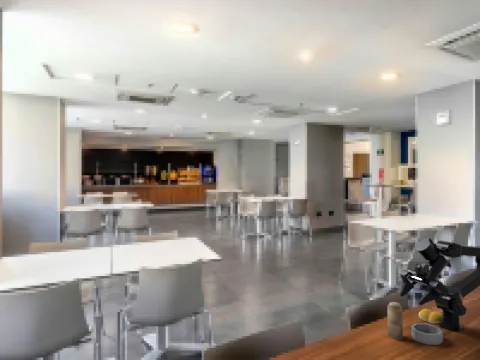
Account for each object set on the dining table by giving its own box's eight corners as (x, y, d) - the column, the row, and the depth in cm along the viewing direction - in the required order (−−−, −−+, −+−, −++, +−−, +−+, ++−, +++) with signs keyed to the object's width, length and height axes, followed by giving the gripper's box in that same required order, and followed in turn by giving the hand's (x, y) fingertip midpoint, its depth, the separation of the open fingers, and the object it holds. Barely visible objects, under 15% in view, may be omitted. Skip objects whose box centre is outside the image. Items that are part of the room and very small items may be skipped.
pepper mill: (396, 332, 124) (395, 300, 124) (406, 338, 119) (405, 305, 119) (385, 334, 123) (384, 302, 123) (394, 340, 118) (393, 306, 118)
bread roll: (440, 326, 129) (440, 316, 129) (416, 319, 136) (416, 309, 136) (447, 320, 135) (447, 310, 135) (424, 314, 142) (424, 304, 142)
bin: (419, 330, 126) (419, 321, 126) (446, 339, 118) (446, 329, 118) (407, 337, 120) (407, 328, 120) (435, 347, 112) (435, 337, 113)
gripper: (402, 249, 134) (379, 279, 131) (441, 259, 116) (416, 294, 113) (418, 267, 136) (397, 297, 133) (459, 279, 118) (435, 314, 115)
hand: (409, 300), depth 123 cm, fingers open, 9 cm apart
